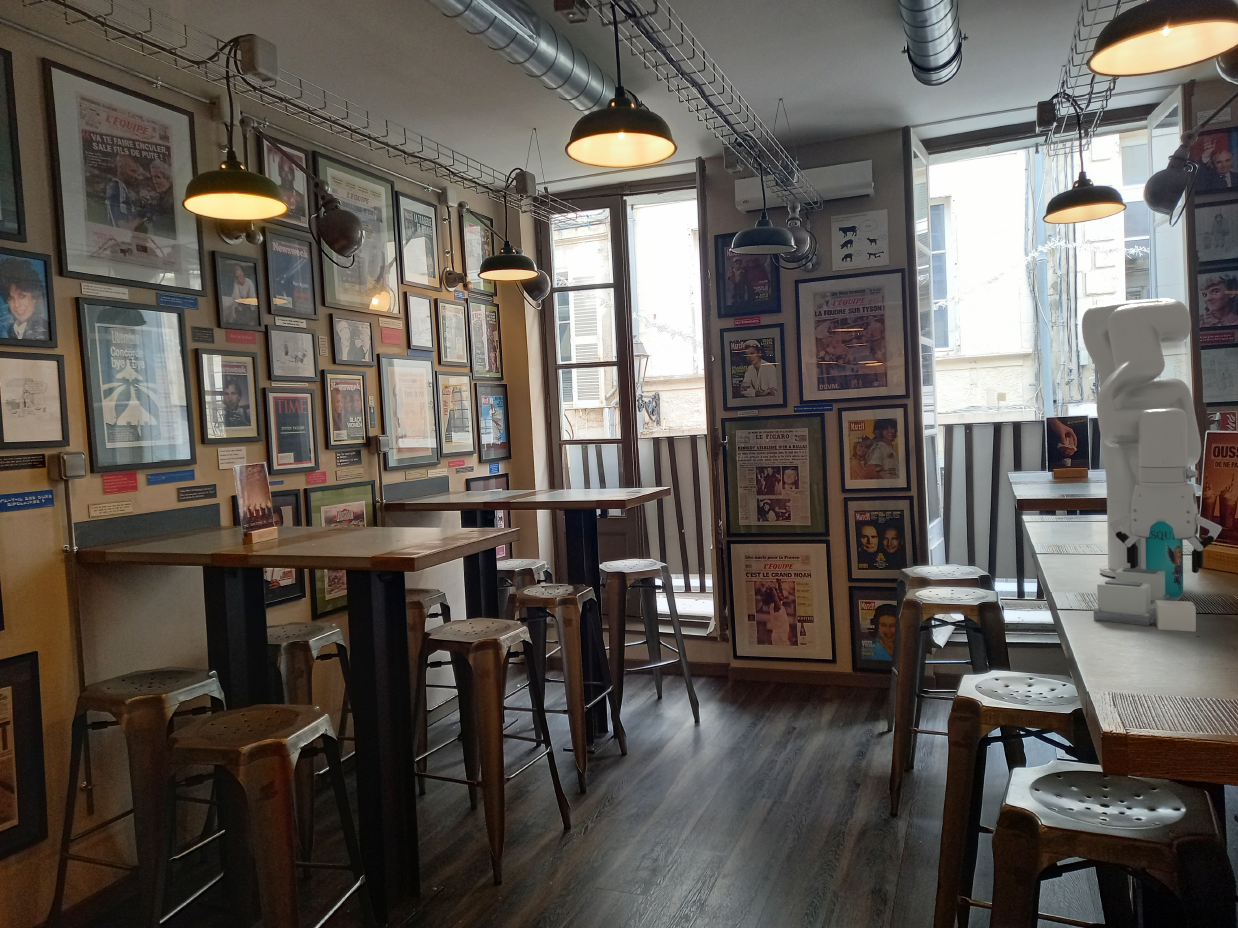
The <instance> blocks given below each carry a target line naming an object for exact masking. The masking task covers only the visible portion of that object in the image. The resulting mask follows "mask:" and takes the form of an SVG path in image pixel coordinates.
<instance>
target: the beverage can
mask: <svg viewBox="0 0 1238 928" xmlns="http://www.w3.org/2000/svg"><path fill="white" fill-rule="evenodd" d="M1155 520H1157V521H1158V522H1156V523H1154V524H1153V525H1152V526H1151V527H1150V532H1149V537H1148V538H1146V569H1150V570H1158V571H1165V593H1169V601H1180V599H1181V597H1182V595H1183V592H1184V551H1183V550H1184V543H1183V540H1178V539H1176V538H1175V536H1174V532H1173V528H1172V527H1171V526H1170V525H1169V524H1167V523H1166V522H1164V521H1167V520H1166V519H1155Z"/></svg>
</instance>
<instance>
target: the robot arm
mask: <svg viewBox="0 0 1238 928" xmlns="http://www.w3.org/2000/svg"><path fill="white" fill-rule="evenodd" d="M1191 318H1192V317H1191V315H1190V312H1189V309H1188V308H1187V306H1186V305H1185V304H1184V303H1183V302H1182V301H1180V300H1177V299H1172V298H1169V297H1164V298H1163V297H1161V298H1148V299H1147V298H1146V299H1134V300H1120V301H1109V302H1103V303H1099V304H1096V305H1093V306H1090V307H1089V308H1088V309H1086V311H1085V312H1084V314H1083V315H1082V320H1081V332H1082V333H1081V334H1082V338H1083V343H1084V345H1085V346H1084V347H1085V348H1086V351H1087V353H1088V355H1089V357H1090V359H1091V361H1092V362H1093V364H1094V365H1095V368H1096V370H1097V374H1098V380H1099V388H1100V389H1099V392H1098V394H1097V399H1096V414H1097V420H1098V421H1097V423H1098V428H1099V433H1100V436H1101V438H1100V447H1101V453H1102V458H1103V465H1104V470H1105V481H1106V483H1105V484H1106V512H1107V515H1106V516H1107V517H1106V518H1107V519H1106V521H1107V523H1106V525H1107V530H1106V531H1107V564H1105V565H1102V566H1100V567H1099V573H1100V574H1101V575H1104V576H1107V577H1110V578H1111V577H1112V578H1115V572H1116V571H1117V570H1119V569H1120V568H1123V569H1125V568H1136V569H1146V538H1148V537H1149V532H1150V527H1151V526H1152V525H1153V524H1154V523H1156V522H1158V521H1157V520H1155V519H1166V520H1167V521H1164V522H1166V523H1167V524H1169V525H1170V526H1171V527H1172V528H1173V532H1174V536H1175V538H1176V539H1178V540H1185V541H1187V542H1188V543H1189V544H1190V545H1191V546H1192V547H1193V549H1192V550H1191V572H1192V573H1194V574H1198V573H1199V572H1200V569H1203V568H1204V549H1206V548H1207V547H1208V546H1210V545H1211V544H1212V543H1213V542H1215V540H1216V538H1217V537H1218V535H1219V534H1220V532H1221V531H1222V530H1223V529H1222V528H1223V527H1222V526H1221V525H1219V524H1217V523H1215V522H1213V521H1211V520H1209V519H1206V518H1204V517H1202V516H1200V515H1199V511H1198V502H1197V501H1198V500H1197V496H1196V495H1197V494H1196V490H1195V486H1194V483H1189V480H1191V479H1194V478H1198V470H1197V469H1196V470H1193V469H1190V467H1192V466H1195V465H1196V464H1197V463H1198V462H1199V460H1200V458H1201V455H1202V454H1201V453H1202V442H1201V436H1200V431H1199V426H1198V420H1197V416H1196V412H1195V407H1194V401H1193V397H1192V394H1191V391H1190V388H1189V386H1188V384H1187V383H1186V382H1185V381H1183V380H1182V379H1179V378H1176V377H1160V378H1158V377H1159V376H1160V375H1161V374H1162V373H1163V372H1164V370H1165V367H1166V365H1165V364H1166V363H1165V358H1164V355H1163V354H1164V353H1163V350H1162V344H1177V343H1178V344H1179V343H1182V342H1184V341H1186V340H1187V338H1189V336H1190V333H1191V330H1192V319H1191ZM1199 526H1201V527H1203V528H1205V529H1207V530H1209V533H1208V534H1207V536H1206V537H1205V538H1203V539H1201V538H1200V537H1199V536H1198V533H1199Z"/></svg>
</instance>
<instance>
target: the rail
mask: <svg viewBox="0 0 1238 928" xmlns="http://www.w3.org/2000/svg"><path fill="white" fill-rule="evenodd" d="M1157 600H1165V601H1169V593H1165V595H1164V596H1162V597H1161V598H1158V599H1157ZM1093 621H1103V622H1111V623H1120V624H1131V625H1138V626H1147V627H1148V626H1150V625H1151V624H1152V623H1154V621H1156V617H1155V600H1151V608H1150V609H1149V610H1148V611H1147V612H1146V613H1143V615H1134V614H1124V613H1114V612H1105V611H1100V608H1098V604H1097V605H1096V606H1094V607H1093Z"/></svg>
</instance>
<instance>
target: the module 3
mask: <svg viewBox="0 0 1238 928" xmlns="http://www.w3.org/2000/svg"><path fill="white" fill-rule="evenodd" d="M1196 608H1197V607H1196V605H1195V604H1194V603H1193V601H1188V600H1186V601H1185V600H1183V601H1181V600H1177V601H1165V600H1155V617H1156V619H1155V625H1156V627H1157V630H1162V631H1181V632H1196V631H1197V626H1196V625H1197V617H1196V616H1197V611H1196V610H1197V609H1196Z"/></svg>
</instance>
